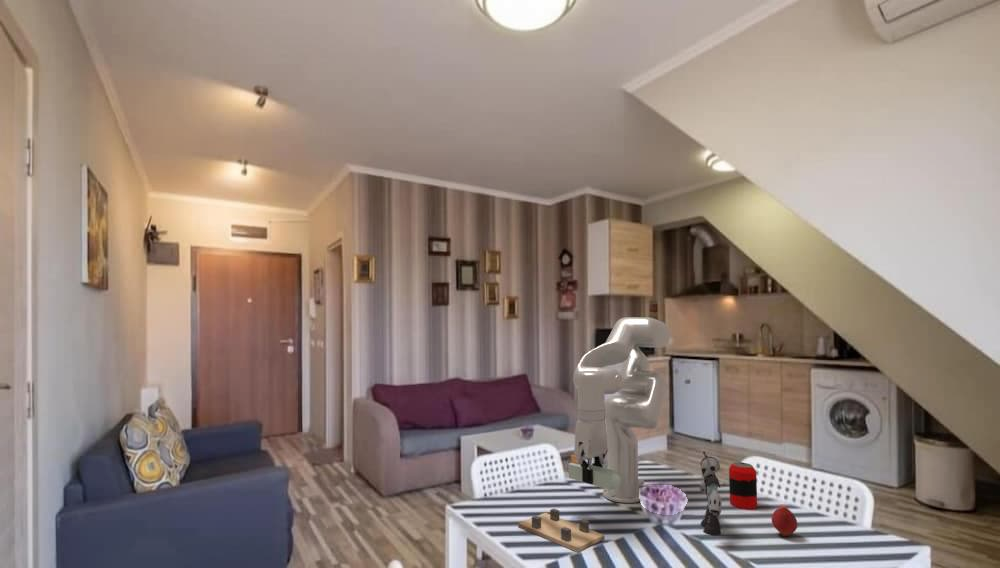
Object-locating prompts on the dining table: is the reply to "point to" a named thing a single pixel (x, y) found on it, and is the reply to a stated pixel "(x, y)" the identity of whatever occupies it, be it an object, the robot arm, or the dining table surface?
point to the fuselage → (595, 475)
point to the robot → (711, 495)
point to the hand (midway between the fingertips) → (592, 480)
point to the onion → (784, 521)
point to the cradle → (562, 530)
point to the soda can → (743, 485)
